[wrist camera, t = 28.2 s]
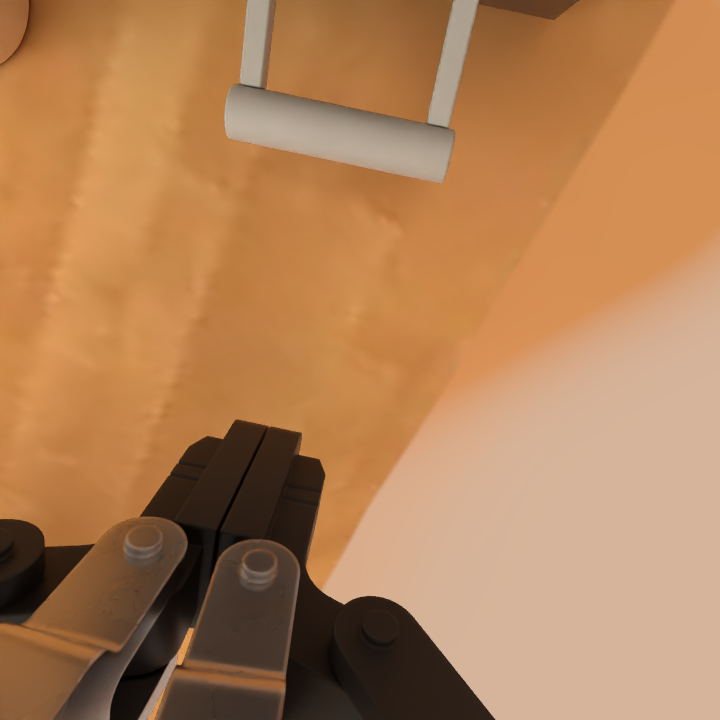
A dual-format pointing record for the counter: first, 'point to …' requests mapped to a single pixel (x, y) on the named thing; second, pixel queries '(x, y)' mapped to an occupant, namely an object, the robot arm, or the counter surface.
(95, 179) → the counter surface
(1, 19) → the candle
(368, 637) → the robot arm
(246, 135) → the drawer
